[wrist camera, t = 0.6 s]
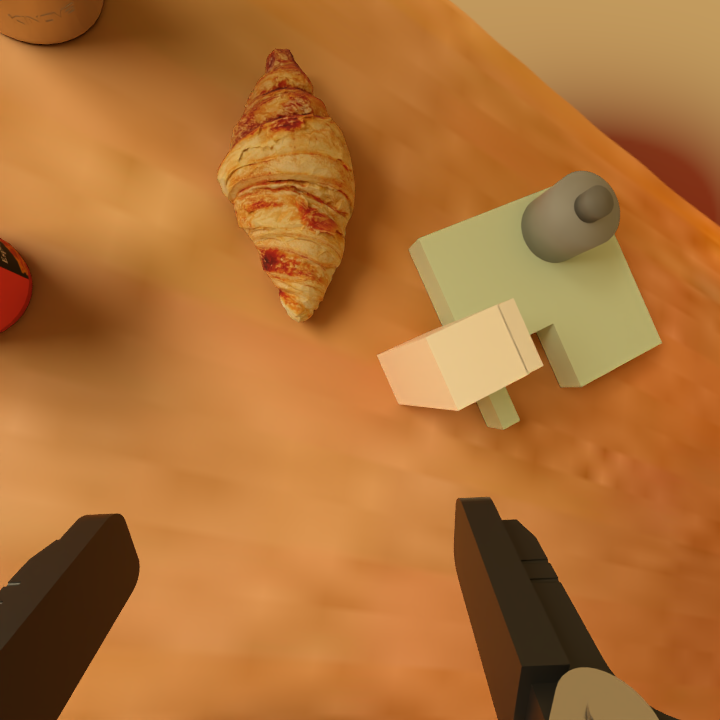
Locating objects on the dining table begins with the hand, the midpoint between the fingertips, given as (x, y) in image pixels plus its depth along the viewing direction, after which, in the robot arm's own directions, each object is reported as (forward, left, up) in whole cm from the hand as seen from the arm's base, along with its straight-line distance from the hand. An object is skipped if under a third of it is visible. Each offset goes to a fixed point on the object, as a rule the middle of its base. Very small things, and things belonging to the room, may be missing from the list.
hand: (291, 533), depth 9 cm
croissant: (-17, +8, -22) cm, 29 cm away
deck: (-1, +25, -21) cm, 33 cm away
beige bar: (0, +12, -21) cm, 24 cm away
